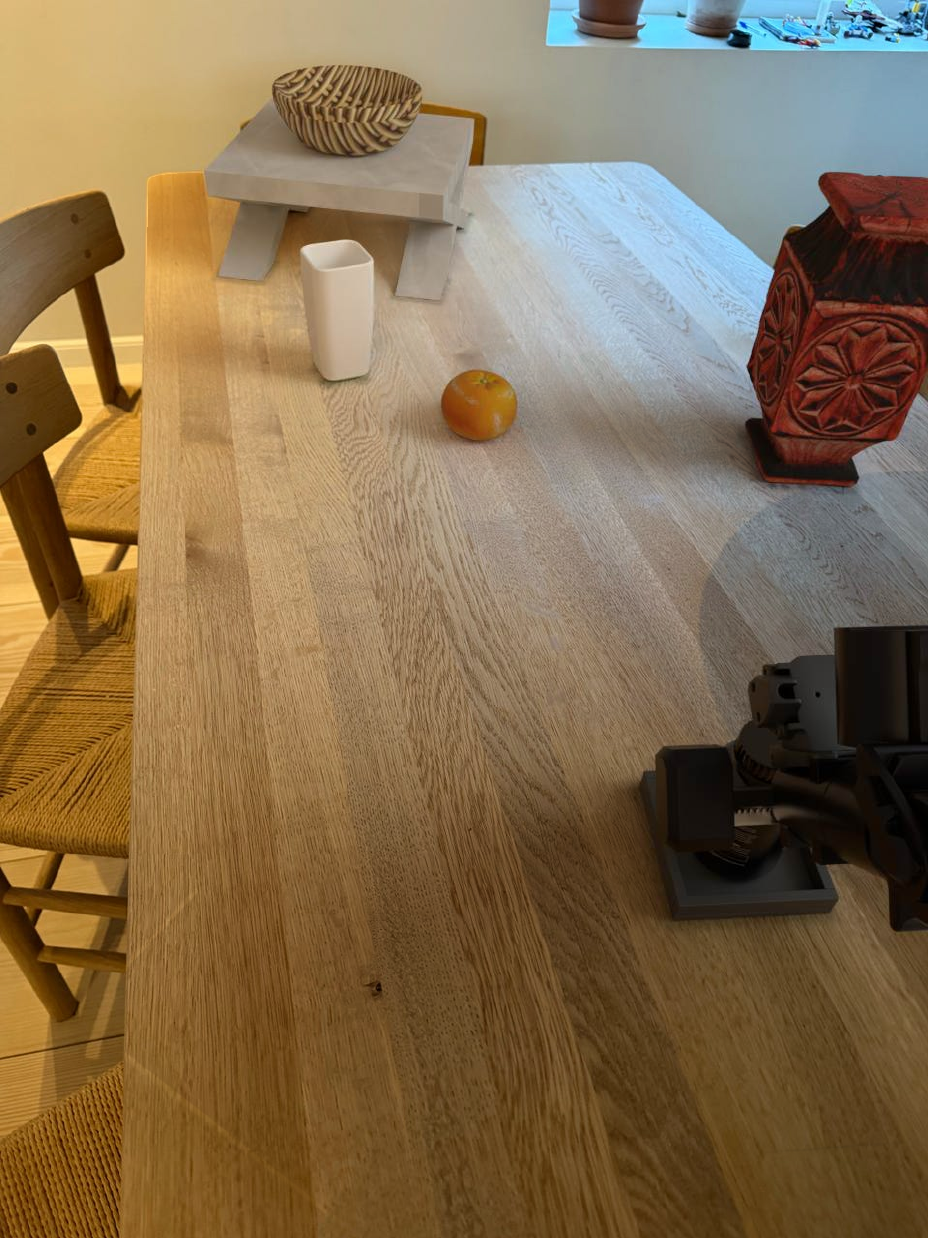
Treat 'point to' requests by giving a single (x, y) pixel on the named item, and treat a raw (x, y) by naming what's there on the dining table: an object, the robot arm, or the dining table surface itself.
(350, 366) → the cup
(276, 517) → the dining table surface
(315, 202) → the grey stand with bowl
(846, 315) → the vase
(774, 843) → the supplement bottle
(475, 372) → the fruit
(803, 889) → the black tray
